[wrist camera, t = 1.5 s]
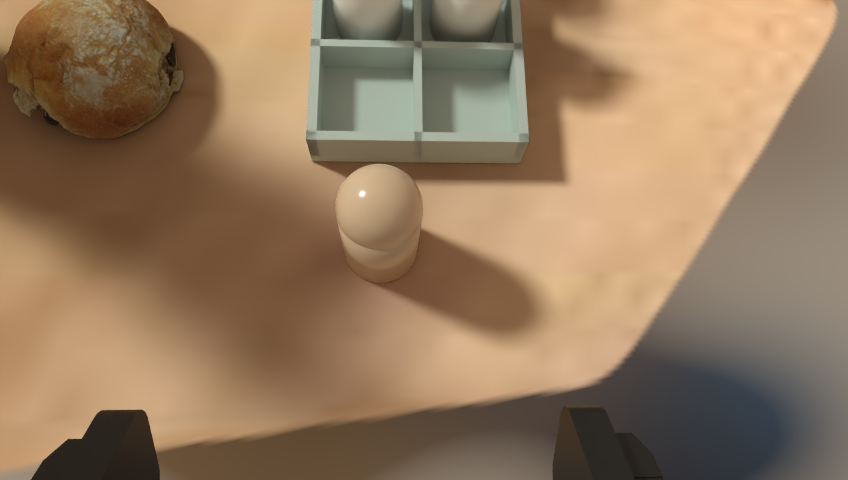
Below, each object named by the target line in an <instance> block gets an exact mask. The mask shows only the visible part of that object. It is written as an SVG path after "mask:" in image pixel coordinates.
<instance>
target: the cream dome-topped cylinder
mask: <svg viewBox="0 0 848 480" xmlns="http://www.w3.org/2000/svg"><path fill="white" fill-rule="evenodd" d="M335 212H336V218H337V223H338V227H339V231H340V235H341V240H342V244H343V248H344V253H345V257H346V260H347V262H348V264H349V266H350V268H351V269H352V270H353V271H354V272H355V273H356V274H357V275H358V276H360V277H361V278H363V279H365V280H367V281H370V282H375V283H386V282H391V281H394V280H396V279H399V278H400V277H402V276H403V275H404V274H406V273H407V272H408V271H409V269H410V268H411V267H412V265H413V263H414V261H415V258H416V255H417V249H418V242H419V235H420V229H421V222H422V215H423V201H422V196H421V193H420V191H419V188H418V187H417V185H416V183H415V182H414V180H413V179H412V178H411V177H410V176H409V175H408V174H406V173H405V172H404V171H402V170H401V169H399V168H397V167H394V166H391V165H387V164H371V165H367V166H364V167H361V168H359V169H357V170H356V171H354V172H353V173H352V174H350V175H349V176H348V177H347V178H346V179H345V181H344V182H343V183H342V185H341V187H340V189H339V191H338V194H337V197H336V203H335Z"/></svg>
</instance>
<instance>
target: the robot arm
mask: <svg viewBox="0 0 848 480" xmlns="http://www.w3.org/2000/svg"><path fill="white" fill-rule="evenodd" d="M31 480H160V471H159V464H158V460H157V455H156V451H155V447H154V443H153V438H152V434H151V430H150V425H149V421H148V417H147V415H146V413H145V411H143V410H102V411H100V412H98V414H97V415H96V416H95V417H94V419H93V421H92V423H91V424H90V426H89V428H88V429H87V431H86V433H85V434H84V436H83V438H82V439H68V440H67V441H65V442H64V443H63V444H62V445H61V446H60V447H58V448H57V449H56V450H55V451H54V452H53V453H51V454H50V455H49V456H48V457H47V458H46V459H45V460H43V462H42V463H41V465H40V466H39V468H38V469H37V471H36V473H35V474H34V476H33V477H32V479H31ZM553 480H663V476H662V474H661V471H660V469H659V468H658V465H657V463H656V461H655V459H654V457H653V455H652V453H651V452H650V451H649V450H648V449H647V448H646V447H645V446H644V445H643V444H642V443H641V442H640V441H639V440H638V439H637V438H636V437H635V436H634V435H633V434H632V433H615V431H614V429H613V427H612V424H611V422H610V420H609V417H608V415H607V412H606V411H605V409H604V407H602V406H564V407H563V408H562V411H561V416H560V422H559V428H558V434H557V440H556V447H555V453H554V459H553Z"/></svg>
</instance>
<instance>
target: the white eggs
mask: <svg viewBox="0 0 848 480" xmlns="http://www.w3.org/2000/svg"><path fill="white" fill-rule="evenodd" d="M502 2H503V0H432V4H431V15H430V30H431V33H432V36H433V38H434V39H435V40H436V41H439V42H489V43H490V42H491V40H492V38H493V36H494V33H495V29H496V25H497V21H498V17H499V14H500V10H501V6H502ZM333 7H334V14H335V22H336V28H337V32H338V34H339V36H340V38H341V39H342V40H388V41H396V40H397V39H398V37H399V36H400V33H401V31H402V21H403V0H333Z"/></svg>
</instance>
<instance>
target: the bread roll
mask: <svg viewBox="0 0 848 480" xmlns="http://www.w3.org/2000/svg"><path fill="white" fill-rule="evenodd" d="M3 61H4V63H5V67H6V71H7V82H9V83H11V84H13V85H14V86H15V87H16V88H15V90H14V94H13V99H14V102H15V104H16V105H17V106H18V107H19V109H20V111H21V112H22V113H25V114H26V115H28V116H30V117H32V116H31V114H32V113H35V111H34V109H38V108H39V109H40V110H42V111H43V112H44V116H43V117H44V119H45V121H46V122H47V123H48V124H50V125H54V126H57V125H62V126H63V128H64V129H67V130H68V131H69V132H70V133H72V134H75V135H79V136H85V137H87V138H89V139H91V138H117V137H121V136H122V135H124V134H126V133H129V132H132V131H135V130H138V129H139V128H140V127H141V126H143V125H144V124H145V123H147V122H149V121H151V120H152V119H153V118H155V117H156V116H157V115H159V114H160V113H161V112H162V111H163V110H164V109H165V108H166V106H167V105H168V103H169V101H170V98H171V95H172V93H174V92H178V91H180V89H181V86H182V83H183V80H184V75H183V70H177V67H178V63H177V57H176V49H175V43H174V37H173V36H172V33H171V31H170V28H169V26H168V24H167V22H166V20H165V19H164V17H163V16H162V15H161V13H160V12H159V11H158V10H157V9H156V8H155V7H154V6H152V5H151V4H150V3H149V2H147V1H146V0H43V1H41V2H40V3H39V4H38V5H37V6H36V7H34V8H33V9H32V10H30V11H29V12H28V13H27V14H26V15H25V16H24V17H23V18H22V19H21V20H20V22H19V24H18V25H17V27H16V30H15V34H14V37H13V40H12V44H11V46H10V50H9V52H8V53H7V54H6V55H5V57H4V59H3Z"/></svg>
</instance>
